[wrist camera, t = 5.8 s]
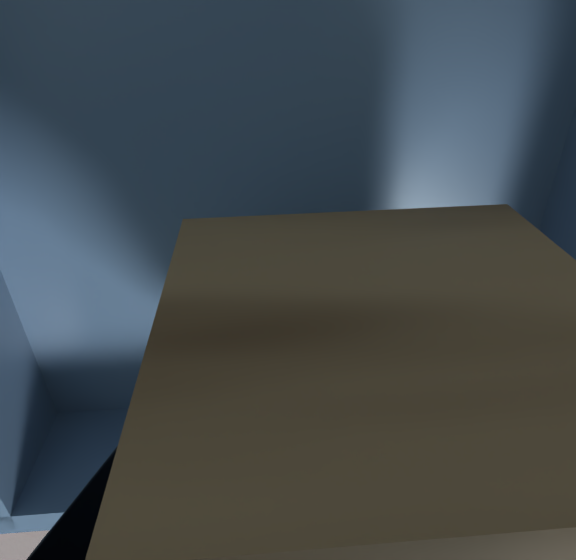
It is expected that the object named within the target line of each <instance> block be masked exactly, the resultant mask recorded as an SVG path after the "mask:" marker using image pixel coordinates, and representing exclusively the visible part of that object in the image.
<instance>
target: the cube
mask: <svg viewBox="0 0 576 560" xmlns="http://www.w3.org/2000/svg"><path fill="white" fill-rule="evenodd" d="M85 560H576V260H575V259H574V258H572V257H571V256H570V255H569V254H568V253H566V252H565V251H564V250H563V249H561V248H560V247H559V246H558V245H557V244H555V243H554V242H553V241H552V240H550V239H549V238H548V237H547V236H546V235H544V234H543V233H542V232H541V231H540V230H538V229H537V228H536V227H535V226H533V225H532V224H531V223H530V222H529V221H527V220H526V219H525V218H524V217H522V216H521V215H520V214H519V213H518V212H516V211H515V210H514V209H513V208H511V207H510V206H509V205H508V204H499V205H477V206H455V207H433V208H412V209H390V210H368V211H346V212H325V213H303V214H281V215H259V216H237V217H216V218H194V219H183V220H182V224H181V227H180V231H179V234H178V238H177V241H176V244H175V248H174V251H173V255H172V258H171V262H170V265H169V269H168V272H167V276H166V279H165V283H164V286H163V290H162V293H161V297H160V300H159V304H158V307H157V311H156V314H155V318H154V321H153V325H152V328H151V332H150V335H149V339H148V342H147V346H146V349H145V353H144V356H143V360H142V363H141V367H140V370H139V374H138V377H137V381H136V384H135V388H134V391H133V394H132V398H131V401H130V405H129V408H128V412H127V415H126V419H125V422H124V426H123V429H122V433H121V436H120V440H119V443H118V447H117V450H116V454H115V457H114V461H113V464H112V468H111V471H110V475H109V478H108V482H107V485H106V489H105V492H104V496H103V499H102V503H101V506H100V510H99V513H98V517H97V520H96V524H95V527H94V531H93V534H92V538H91V541H90V544H89V548H88V551H87V555H86V558H85Z"/></svg>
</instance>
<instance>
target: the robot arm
mask: <svg viewBox="0 0 576 560" xmlns="http://www.w3.org/2000/svg"><path fill="white" fill-rule="evenodd" d="M117 447H118V446H117ZM117 447H116V448H115V449H114V451H113V452H112V453H111V454H110V456H109V457H108V458H107V459H106V461H105V462H104V463H103V464H102V466H101V467H100V468H99V469H98V471H97V472H96V473H95V474H94V476H93V477H92V478H91V479H90V481H89V482H88V483H87V484H86V486H85V487H84V488H83V489H82V491H81V492H80V493H79V494H78V496H77V497H76V498H75V499H74V501H73V502H72V503H71V504H70V506H69V507H68V508H67V509H66V511H65V512H64V513H63V514H62V516H61V517H60V518H59V519H58V521H57V522H56V523H55V524H54V526H53V527H52V528H51V529H50V531H49V532H48V533H47V534H46V536H45V537H44V538H43V539H42V541H41V542H40V543H39V545H38V546H37V547H36V548H35V550H34V551H33V552H32V553H31V555H30V556H29V557H28V558H27V560H85V558H86V555H87V551H88V548H89V544H90V541H91V538H92V534H93V531H94V527H95V524H96V520H97V517H98V513H99V510H100V506H101V503H102V499H103V496H104V492H105V489H106V485H107V482H108V478H109V475H110V471H111V468H112V464H113V461H114V457H115V454H116V450H117Z"/></svg>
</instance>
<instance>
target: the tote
mask: <svg viewBox="0 0 576 560" xmlns="http://www.w3.org/2000/svg"><path fill="white" fill-rule="evenodd" d="M499 204H508V205H509V206H510V207H511V208H513V209H514V210H515V211H516V212H518V213H519V214H520V215H521V216H522V217H524V218H525V219H526V220H527V221H529V222H530V223H531V224H532V225H533V226H535V227H536V228H537V229H538V230H540V231H541V232H542V233H543V234H544V235H546V236H547V237H548V238H549V239H550V240H552V241H553V242H554V243H555V244H557V245H558V246H559V247H560V248H561V249H563V250H564V251H565V252H566V253H568V254H569V255H570V256H571V257H572V258H574V259H575V260H576V0H0V534H6V533H18V532H31V531H43V530H50V529H51V528H52V527H53V526H54V524H55V523H56V522H57V521H58V519H59V518H60V517H61V516H62V514H63V513H64V512H65V511H66V509H67V508H68V507H69V506H70V504H71V503H72V502H73V501H74V499H75V498H76V497H77V496H78V494H79V493H80V492H81V491H82V489H83V488H84V487H85V486H86V484H87V483H88V482H89V481H90V479H91V478H92V477H93V476H94V474H95V473H96V472H97V471H98V469H99V468H100V467H101V466H102V464H103V463H104V462H105V461H106V459H107V458H108V457H109V456H110V454H111V453H112V452H113V451H114V449H115V448H116V447H117V446H118V443H119V440H120V436H121V433H122V429H123V426H124V422H125V419H126V415H127V412H128V408H129V405H130V401H131V398H132V394H133V391H134V388H135V384H136V381H137V377H138V374H139V370H140V367H141V363H142V360H143V356H144V353H145V349H146V346H147V342H148V339H149V335H150V332H151V328H152V325H153V321H154V318H155V314H156V311H157V307H158V304H159V300H160V297H161V293H162V290H163V286H164V283H165V279H166V276H167V272H168V269H169V265H170V262H171V258H172V255H173V251H174V248H175V244H176V241H177V238H178V234H179V231H180V227H181V224H182V220H183V219H194V218H216V217H237V216H259V215H281V214H303V213H325V212H346V211H368V210H390V209H412V208H433V207H455V206H477V205H499Z"/></svg>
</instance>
